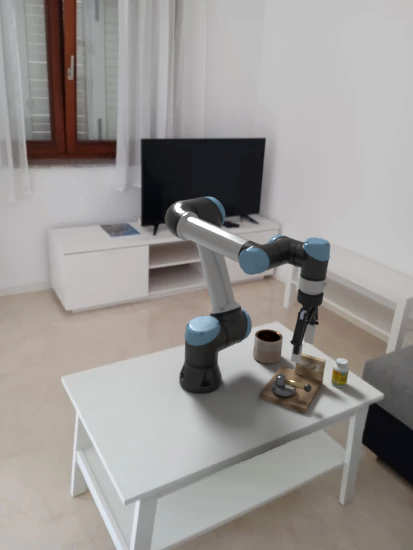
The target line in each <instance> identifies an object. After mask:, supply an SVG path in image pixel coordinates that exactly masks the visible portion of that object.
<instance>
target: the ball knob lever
mask: <svg viewBox="0 0 413 550" xmlns="http://www.w3.org/2000/svg"><path fill="white" fill-rule="evenodd" d="M296 387H297V388H300V389H303V390H305V391H306V392H310V391H311V389H312V387H311V385H310V384H303V383H300V382H296V381H293V380H290V379H287V378H286V377H285V375H283V374H277V375H276V381H275V382H273V384H272V392H273V394H275V395H276V396H278V397H281V398H291V397H293V396H294V395H295V392H296Z"/></svg>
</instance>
